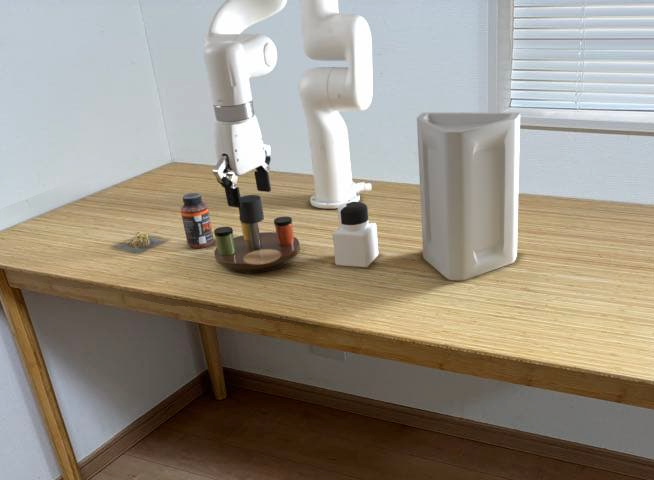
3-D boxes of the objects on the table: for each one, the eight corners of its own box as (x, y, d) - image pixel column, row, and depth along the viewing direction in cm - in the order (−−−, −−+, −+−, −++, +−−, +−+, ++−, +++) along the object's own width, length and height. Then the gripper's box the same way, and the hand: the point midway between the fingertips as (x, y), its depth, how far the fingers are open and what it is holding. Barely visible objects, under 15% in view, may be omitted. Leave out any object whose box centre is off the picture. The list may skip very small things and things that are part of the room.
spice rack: (210, 246, 169) (199, 193, 163) (290, 232, 173) (282, 180, 167) (222, 277, 154) (211, 220, 147) (310, 261, 158) (302, 205, 152)
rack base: (286, 245, 171) (285, 239, 171) (292, 267, 161) (291, 260, 160) (227, 254, 169) (226, 247, 169) (230, 276, 159) (228, 269, 158)
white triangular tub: (408, 277, 152) (400, 131, 137) (428, 249, 164) (422, 112, 149) (504, 283, 147) (506, 132, 132) (517, 254, 159) (520, 112, 144)
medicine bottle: (379, 255, 163) (374, 199, 157) (367, 268, 158) (362, 211, 151) (348, 252, 165) (342, 197, 159) (335, 265, 160) (328, 209, 153)
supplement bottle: (211, 248, 173) (201, 199, 167) (185, 250, 173) (174, 200, 167) (217, 239, 178) (207, 190, 172) (191, 240, 178) (181, 192, 172)
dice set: (140, 238, 181) (138, 230, 180) (155, 242, 179) (153, 234, 178) (123, 245, 178) (121, 237, 177) (137, 249, 175) (135, 241, 174)
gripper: (246, 100, 156) (260, 183, 166) (189, 122, 144) (208, 210, 154) (276, 102, 153) (289, 187, 163) (220, 124, 141) (238, 214, 150)
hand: (250, 198), depth 158 cm, fingers open, 9 cm apart
